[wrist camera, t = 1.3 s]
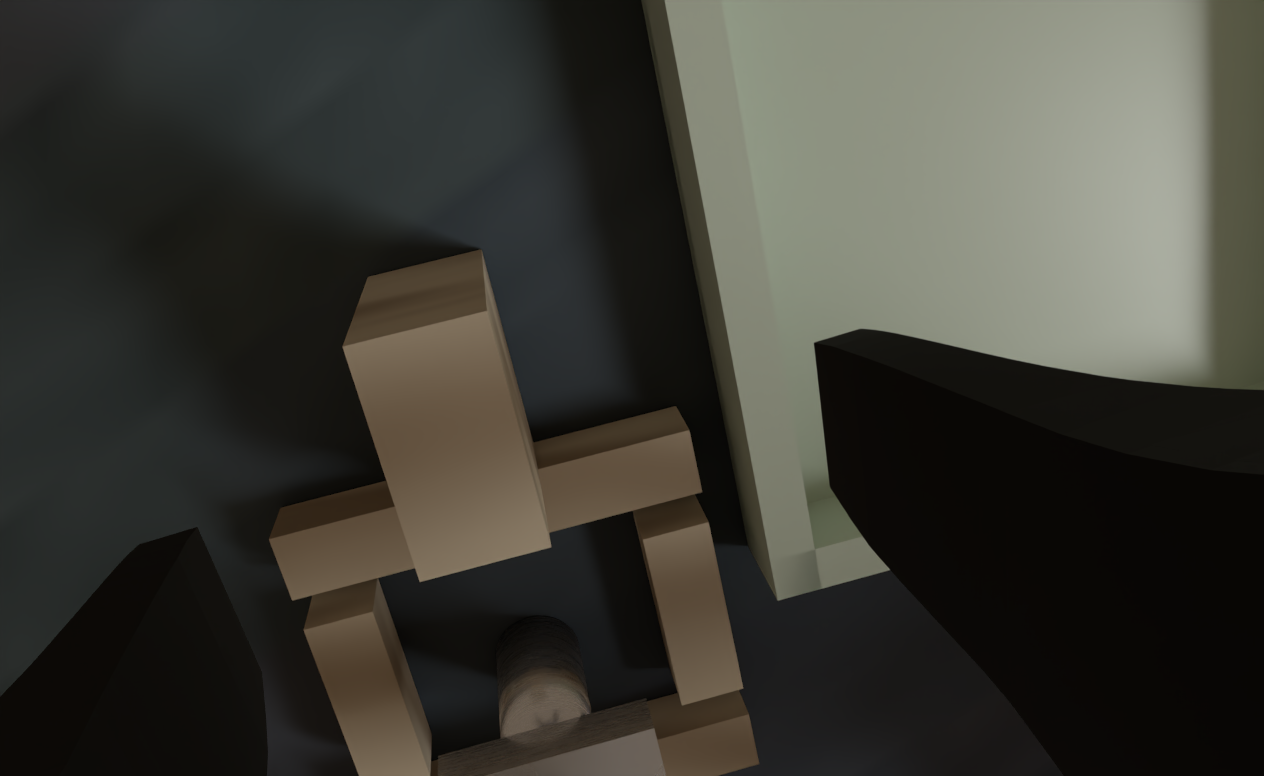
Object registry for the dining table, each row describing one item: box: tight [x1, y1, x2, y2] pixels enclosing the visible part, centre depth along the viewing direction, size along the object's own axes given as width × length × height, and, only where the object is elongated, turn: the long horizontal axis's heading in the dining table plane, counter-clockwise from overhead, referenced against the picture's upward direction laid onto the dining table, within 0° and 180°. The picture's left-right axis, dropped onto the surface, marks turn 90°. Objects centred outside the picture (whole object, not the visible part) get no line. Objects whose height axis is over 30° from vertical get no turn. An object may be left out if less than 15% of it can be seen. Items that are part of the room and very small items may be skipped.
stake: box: [438, 616, 666, 776], centre depth 23 cm, size 2×4×5 cm, turn 102°
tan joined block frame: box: [269, 249, 759, 776], centre depth 22 cm, size 14×9×5 cm, turn 12°
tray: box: [641, 0, 1264, 601], centre depth 21 cm, size 19×14×2 cm
